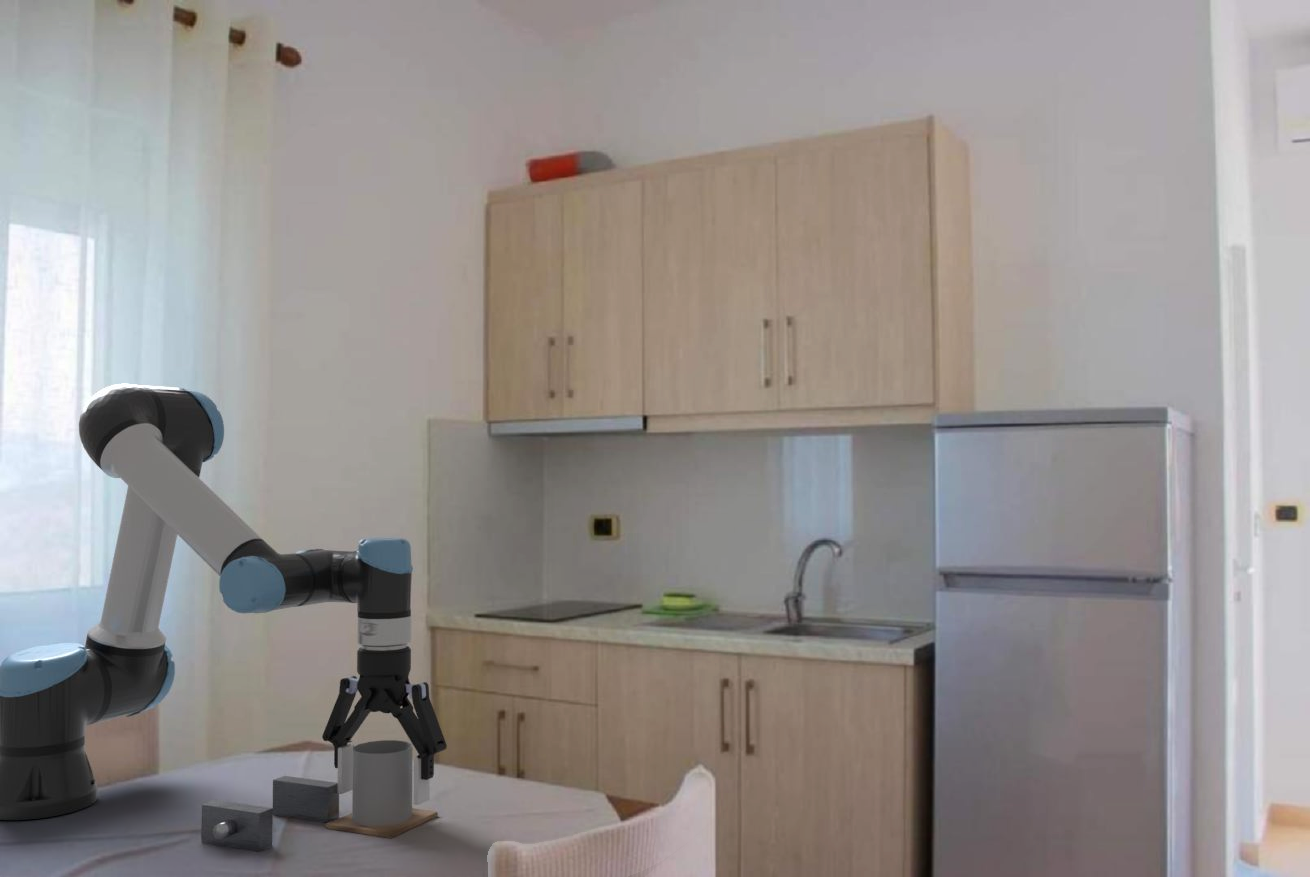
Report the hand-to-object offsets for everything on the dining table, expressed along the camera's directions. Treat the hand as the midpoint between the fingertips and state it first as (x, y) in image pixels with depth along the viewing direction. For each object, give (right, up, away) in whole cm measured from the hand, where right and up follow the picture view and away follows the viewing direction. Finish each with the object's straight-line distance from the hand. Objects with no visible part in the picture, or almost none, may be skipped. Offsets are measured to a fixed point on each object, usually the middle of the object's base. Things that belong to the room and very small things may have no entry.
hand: (382, 797), depth 161 cm
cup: (0, -3, 0) cm, 3 cm away
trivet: (0, -4, 0) cm, 4 cm away
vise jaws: (-15, -3, -4) cm, 15 cm away
